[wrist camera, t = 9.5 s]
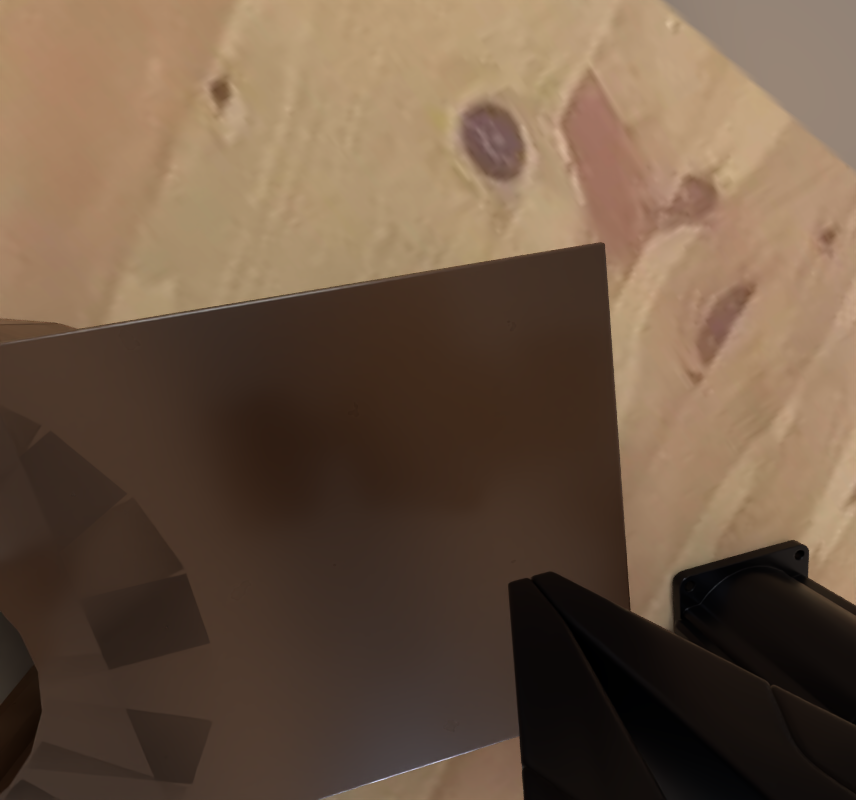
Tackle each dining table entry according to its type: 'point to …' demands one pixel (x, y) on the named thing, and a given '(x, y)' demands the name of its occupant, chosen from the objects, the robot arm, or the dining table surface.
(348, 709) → the wooden desk organizer
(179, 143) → the dining table surface
